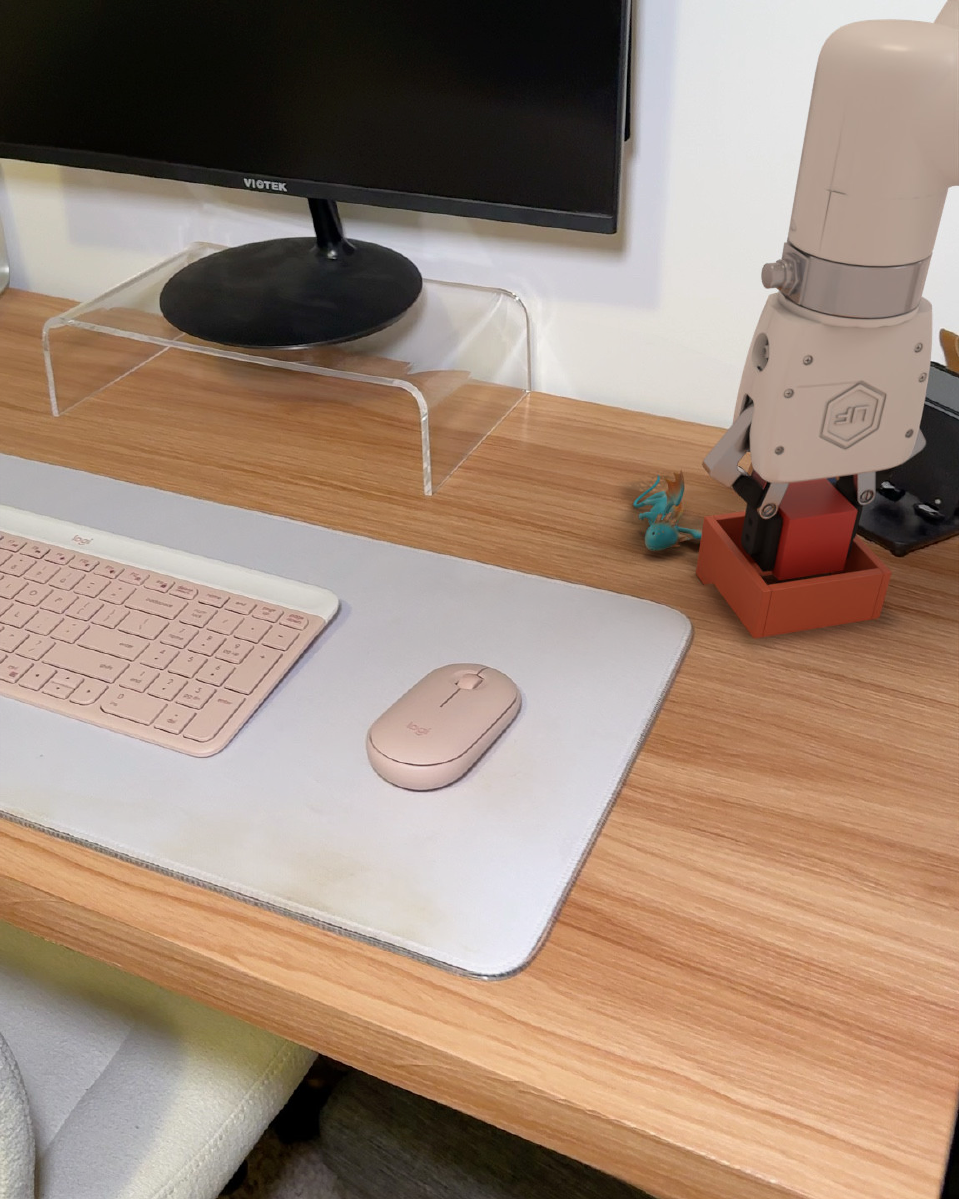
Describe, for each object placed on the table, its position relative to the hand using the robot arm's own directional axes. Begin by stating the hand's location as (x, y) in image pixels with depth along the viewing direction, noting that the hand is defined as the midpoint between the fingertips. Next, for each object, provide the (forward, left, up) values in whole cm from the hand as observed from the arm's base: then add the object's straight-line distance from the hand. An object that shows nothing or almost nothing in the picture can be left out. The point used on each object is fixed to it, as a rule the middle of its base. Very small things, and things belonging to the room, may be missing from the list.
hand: (795, 551), depth 72 cm
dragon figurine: (+4, -10, -4) cm, 12 cm away
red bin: (0, 0, -4) cm, 4 cm away
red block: (0, 0, 0) cm, 0 cm away
